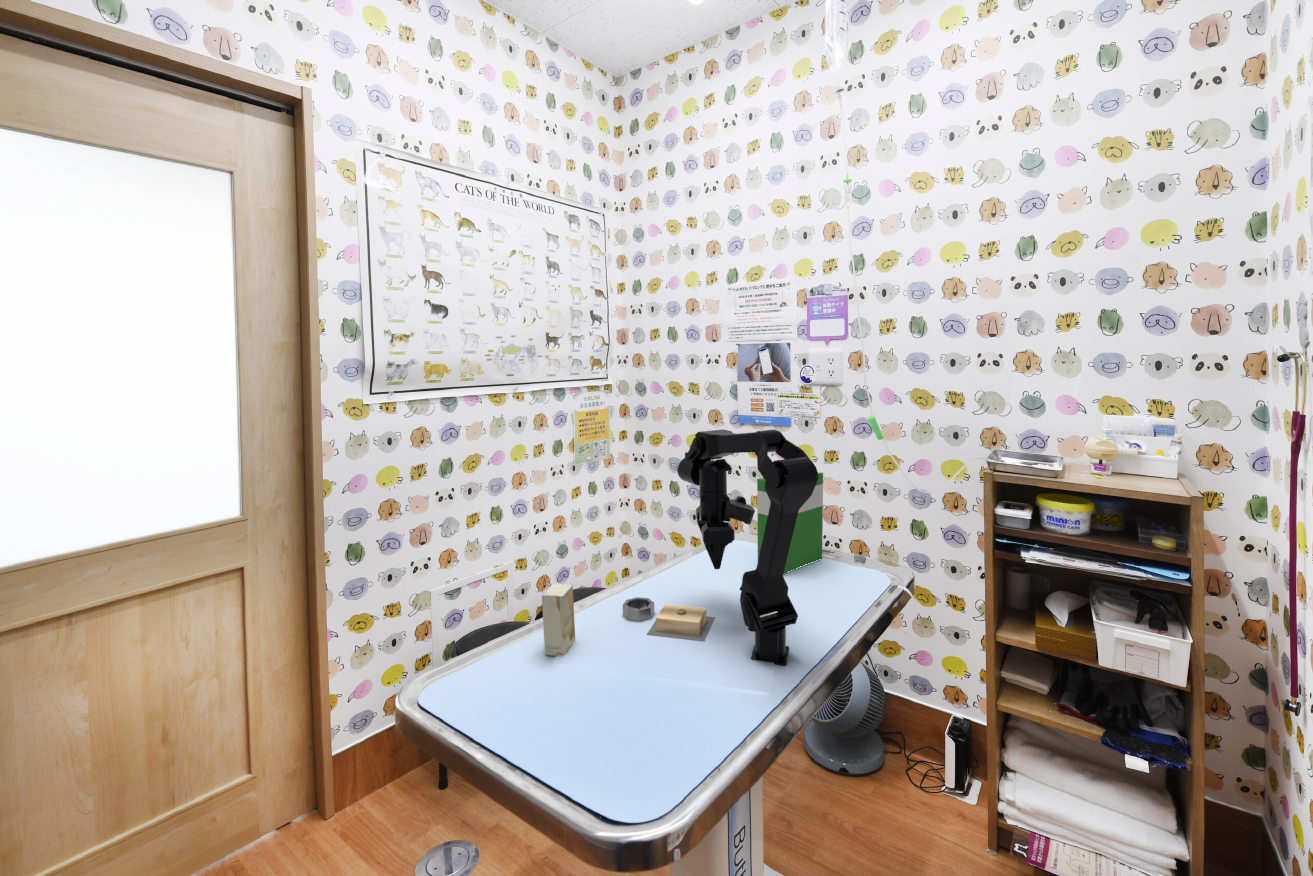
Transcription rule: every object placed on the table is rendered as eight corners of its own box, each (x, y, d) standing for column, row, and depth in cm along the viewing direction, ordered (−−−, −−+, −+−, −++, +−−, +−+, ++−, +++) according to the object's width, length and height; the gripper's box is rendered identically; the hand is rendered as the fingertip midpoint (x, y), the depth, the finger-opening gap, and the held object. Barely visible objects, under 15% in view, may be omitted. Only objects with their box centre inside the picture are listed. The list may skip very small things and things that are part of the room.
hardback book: (800, 552, 167) (800, 469, 163) (822, 559, 161) (823, 473, 157) (757, 568, 156) (757, 479, 152) (779, 575, 150) (779, 483, 147)
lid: (699, 635, 118) (698, 620, 118) (656, 631, 121) (655, 615, 121) (706, 620, 125) (706, 605, 125) (665, 616, 128) (665, 601, 127)
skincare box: (565, 657, 113) (562, 596, 111) (544, 656, 113) (540, 595, 112) (576, 641, 119) (573, 583, 117) (556, 640, 120) (552, 582, 118)
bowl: (648, 624, 125) (647, 611, 125) (620, 621, 127) (619, 608, 127) (657, 611, 131) (656, 599, 131) (629, 609, 133) (629, 596, 133)
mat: (704, 643, 116) (704, 641, 116) (646, 637, 120) (646, 634, 120) (715, 619, 127) (715, 617, 127) (661, 613, 130) (661, 611, 130)
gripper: (759, 498, 115) (760, 575, 117) (744, 479, 133) (745, 546, 135) (702, 501, 114) (704, 578, 117) (694, 481, 133) (696, 547, 135)
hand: (714, 561), depth 126 cm, fingers open, 9 cm apart
